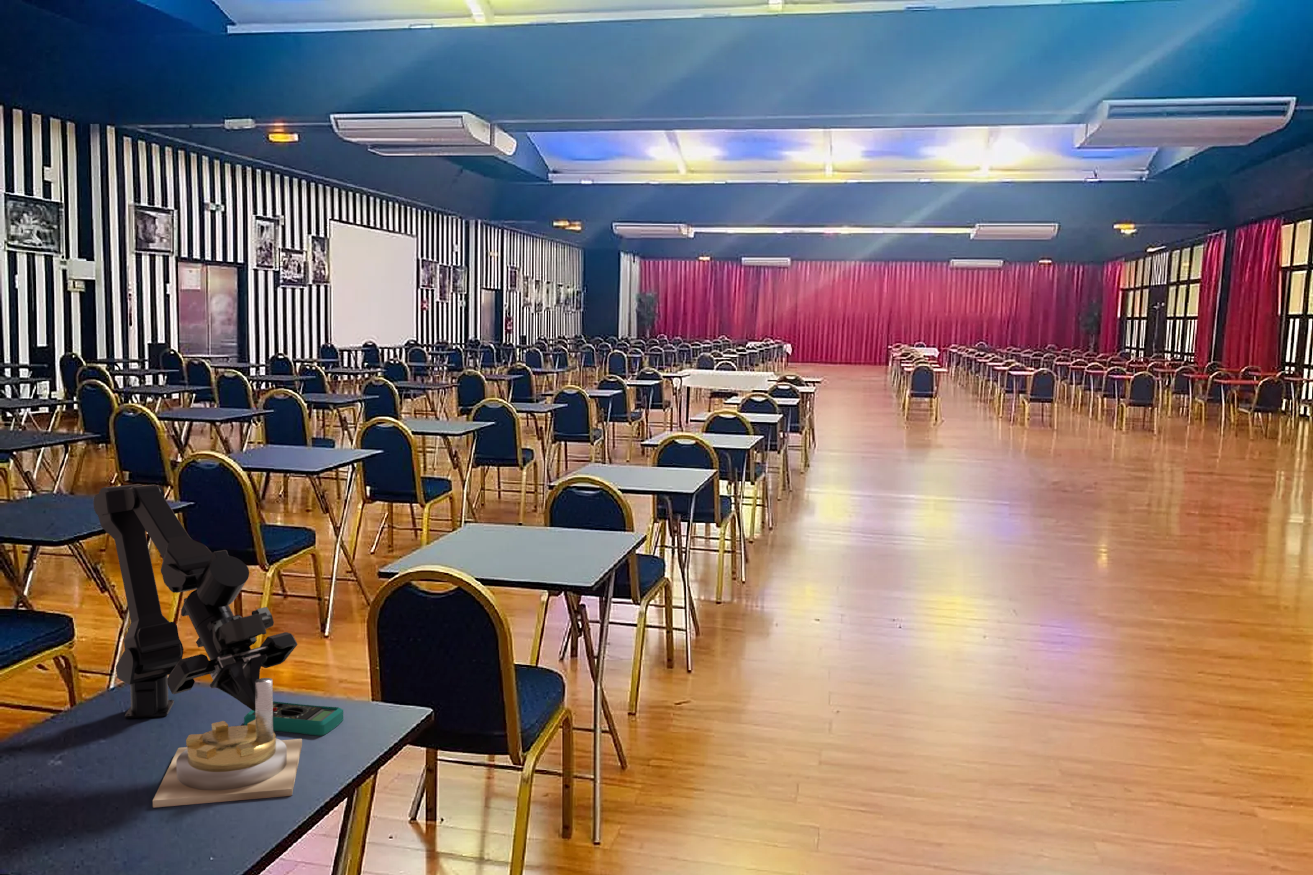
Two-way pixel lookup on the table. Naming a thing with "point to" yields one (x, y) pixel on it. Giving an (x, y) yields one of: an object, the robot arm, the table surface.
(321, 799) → the table surface
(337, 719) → the digital multimeter
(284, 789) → the cap housing
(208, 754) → the round base with post
